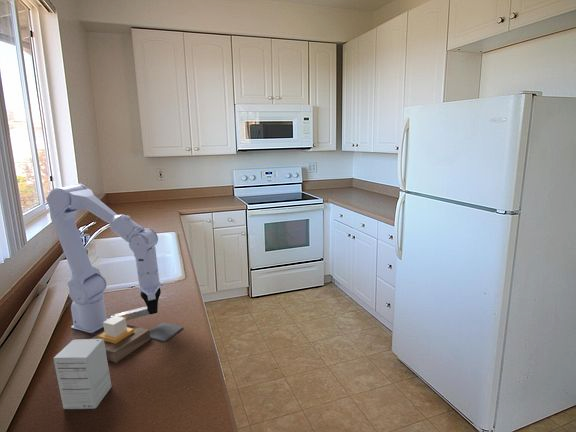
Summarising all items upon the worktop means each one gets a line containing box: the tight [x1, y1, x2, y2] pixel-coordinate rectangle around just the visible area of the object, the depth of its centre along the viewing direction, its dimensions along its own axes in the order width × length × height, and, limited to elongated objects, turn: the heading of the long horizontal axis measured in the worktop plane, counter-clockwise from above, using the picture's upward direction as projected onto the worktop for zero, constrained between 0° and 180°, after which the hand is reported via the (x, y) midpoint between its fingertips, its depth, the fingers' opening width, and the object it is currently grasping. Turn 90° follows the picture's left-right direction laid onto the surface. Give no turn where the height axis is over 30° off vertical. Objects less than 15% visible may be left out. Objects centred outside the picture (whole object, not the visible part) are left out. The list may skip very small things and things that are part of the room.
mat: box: [149, 322, 184, 343], centre depth 109 cm, size 8×8×1 cm
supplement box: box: [53, 338, 112, 410], centre depth 81 cm, size 7×7×13 cm
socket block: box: [90, 323, 151, 363], centre depth 102 cm, size 12×12×3 cm
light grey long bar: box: [108, 305, 159, 322], centre depth 109 cm, size 13×2×3 cm, turn 121°
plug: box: [98, 316, 134, 344], centre depth 102 cm, size 6×6×8 cm
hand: (153, 313), depth 111 cm, fingers closed
